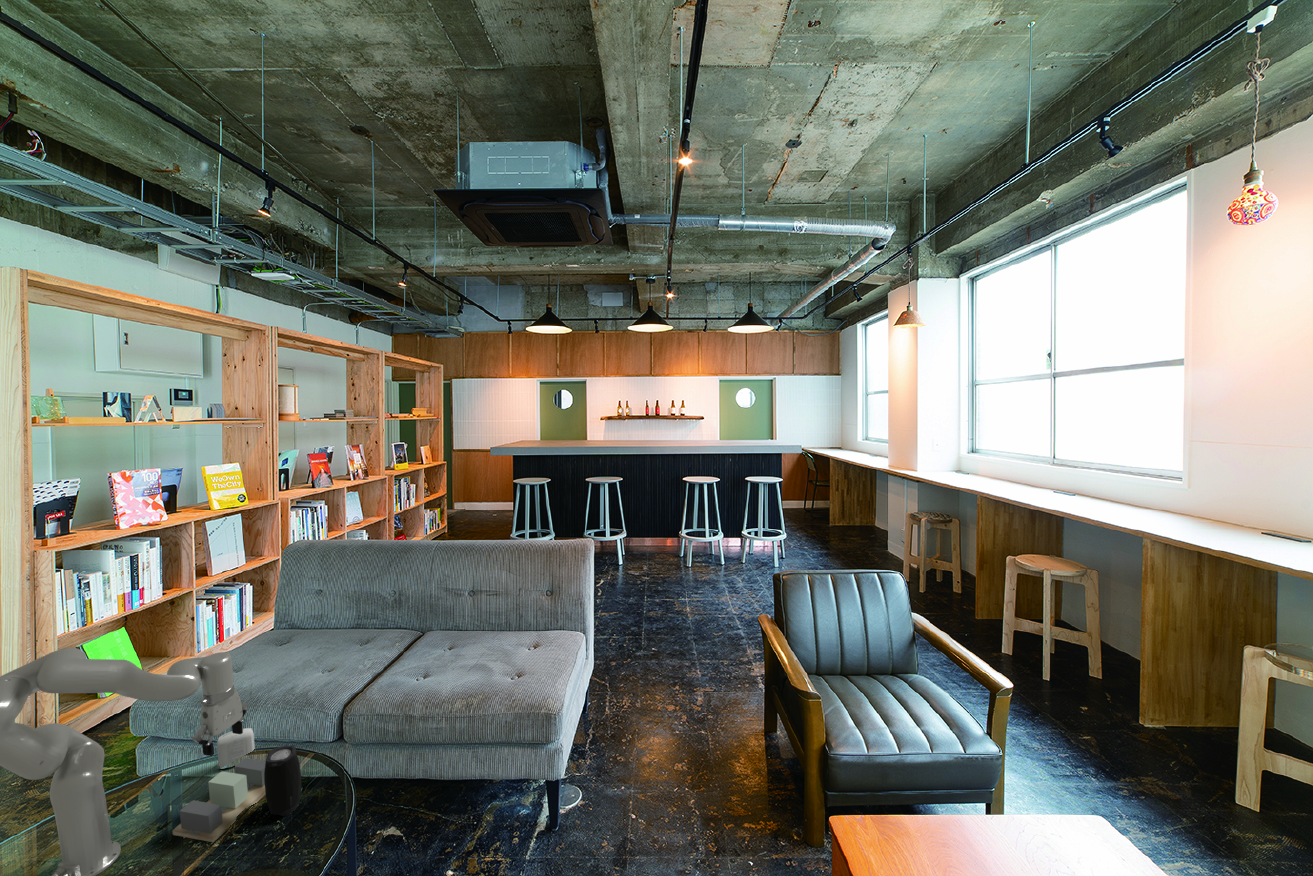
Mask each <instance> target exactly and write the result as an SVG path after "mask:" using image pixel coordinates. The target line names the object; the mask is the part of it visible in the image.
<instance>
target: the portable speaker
mask: <svg viewBox="0 0 1313 876" xmlns="http://www.w3.org/2000/svg"><path fill="white" fill-rule="evenodd" d="M265 761H266V763H265V771H264V783H265V793H266V794H265V799H266V802H267V805H268V809H269V812H270V815H271V814H274V815H273V816H282V817H287V816H289V815H291V814H293V813H294V812H295V811H296V810H297V809H298V805H299V804H300V802H301V795H302V773H301V764H300V763H301V762H300V760H299V757H298V754H297V748H296V746H294V745H282V746H276V747H275V748H272V749H271V750H270V751H269V752H268V753H267V755H266V758H265ZM293 811H294V812H293ZM290 813H291V814H290Z"/></svg>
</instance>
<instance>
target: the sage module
mask: <svg viewBox="0 0 1313 876" xmlns="http://www.w3.org/2000/svg"><path fill="white" fill-rule="evenodd" d="M208 792H209V794H208V795H209V800H210V803H212V804H217V805H221V806H222V807H228V808H234V809H236V808H237V807H238V806H239V805H240V804H241V803H243V802H244V801H245V800H246V799H247V798H248V789H247V778H246V775H242V774H236V773H235V772H228V771H224V770H220V772H218V774H216V775H215V776H214V777H213V778H211V779H210V780H209V781H208Z"/></svg>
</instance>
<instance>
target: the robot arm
mask: <svg viewBox="0 0 1313 876" xmlns="http://www.w3.org/2000/svg"><path fill="white" fill-rule="evenodd" d="M200 686H201V689H202V700H201V701H200V704H201V710H200V728H199V730H197V732H196V733H195V735H194V736H192V741H193V742H194V743H195V744H196V745H201V746H202V747H201V748H202V755H203V756H207V757H208V756H209V757H212V756H214V755H215V747H214V742H212V741H214V737H218V736H220V735H221V734H222V733H224V732H225V731H227V730H228V729H229V728H230V727H231V731H232V732H233V733H234V734H242V733H243V729H244V728H243V721H244V720H245V715H246V713H247V709H248V706H249V702H245V701H244V702H242V700H241V698H240V694H239V692H238V690H237V689H235V683H234V671H233V660H232V655H231V654H230V653H228V652H226V651H225V652H224V651H223V652H222V651H221V652H215V653H212V654H209V655H207V656H200V657H193V658H185V659H180V660H177V661H175V662H174V663H173V664H171V665H170V666H169V668H168V670H167V672H166V674H158V673H152V672H149V671H146V670H143V669H142V668H140V667H139V666H137V665H136V664H135V663H133V662H132V661H129V660H127V659H111V658H110V659H109V658H108V659H107V658H105V659H103V658H102V659H101V658H96V659H95V658H87V654H86V653H85V652H84V651H83V650H81V649H79V648H76V647H75V648H74V647H66V648H65V647H64V648H61V649H58V650H57V649H56V650H54V651H51V652H49V653H48V654H45V655H42V656H41V657H38V658H36V659H35V660H32V661H30V662H28V663H26V664H23V665H21V666H19V667H17V668H15V669H13V670H11V671H9V672H7V673H5V674H2V675H0V767H2V768H4V769H6V770H7V771H10V772H11V773H13V774H15V775H17V776H18V777H21V778H23V779H26V780H30V781H34V780H35V781H36V780H37V781H38V780H41V779H44V778H47V777H49V776H51V775H53V777H52V779H51V783H50V787H49V800H50V803H51V807H52V810H53V814H54V818H55V824H56V829H57V835H58V842H59V849H60V854H61V861H59V862H58V864H57V869H56V870H54V871H53V874H52V875H51V876H98V875H99V874H101V873H102V872H104V871H105V870H106V869H108V868H109V867H111V866H112V865H113V864H114V862H116V861H117V859H118V857H119V856H120V855H121V844H120V843H119V842H117V841H114V840H112V835H111V828H110V821H109V813H108V806H107V805H108V804H107V800H106V799H107V798H106V793H105V789H104V784H103V771H104V770H103V769H104V763H105V751H104V748H103V747H102V745H100V743H98V742H97V741H95V740H93V739H92V738H90V737H88V736H87V735H85V734H83V733H82V732H80V731H78V730H76V729H74V728H73V727H71V726H69V725H66V724H62V723H46V724H42V725H40V726H37V727H35V728H33V727H31V726H29V725H27V724H24V723H20V722H19V723H18V722H16V719H17V717H18V716H19V715H20V713H21V712H22V711H23V709H24V706H25V704H26V702H27V700H28V698H29V697H30V696H32V695H33V694H36V693H37V692H40V691H41V692H43V693H47V694H109V693H110V694H111V693H112V694H116V695H119V696H122V697H125V698H131V699H133V700H138V701H144V702H174V701H180V700H184V699H187V698H190V697H191V696H193V695H194V694H196V692H197V691H198V690H199V689H200Z"/></svg>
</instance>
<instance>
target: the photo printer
mask: <svg viewBox="0 0 1313 876" xmlns="http://www.w3.org/2000/svg"><path fill="white" fill-rule="evenodd" d="M255 747H256V746H255V734H254V730H253V728H252V727H251V728H250V727H248V728H247V727H246V728H245V727H244V728H243V733H242V734H234V733H233V732H232V730H231V731H229V732H226V733H224V734H222V735H221V736H220V735H219V737H218V740H217V742H216V750H217V751H216V752H217V761H218V762H217V763H218V767H219V766H220V768H222V767H224V766H226V765H228V764H229V763H231V762H233V761H234V760H236V759H238V758H241V757H243V756H244V755H246V754H248V753H250V752H252V751H253V750H254V749H255V750H256V748H255Z"/></svg>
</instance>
